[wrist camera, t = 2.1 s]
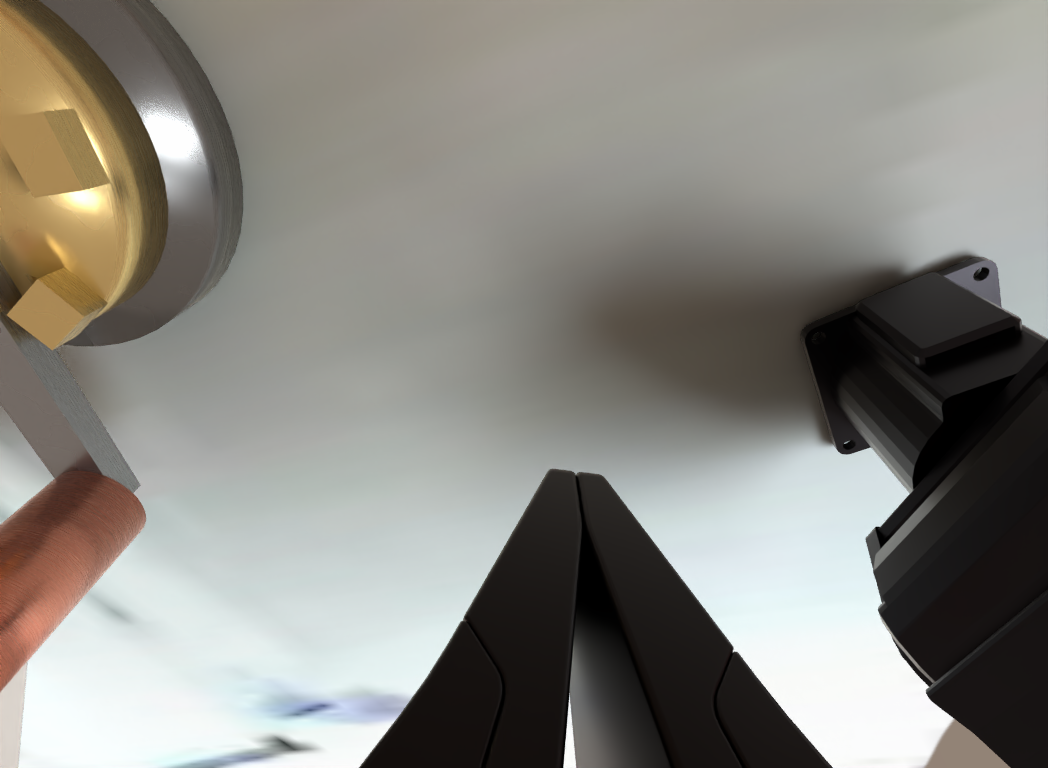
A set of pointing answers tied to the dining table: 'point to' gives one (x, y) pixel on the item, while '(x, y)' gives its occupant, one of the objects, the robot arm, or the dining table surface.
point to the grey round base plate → (167, 159)
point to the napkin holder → (12, 719)
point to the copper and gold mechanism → (65, 307)
